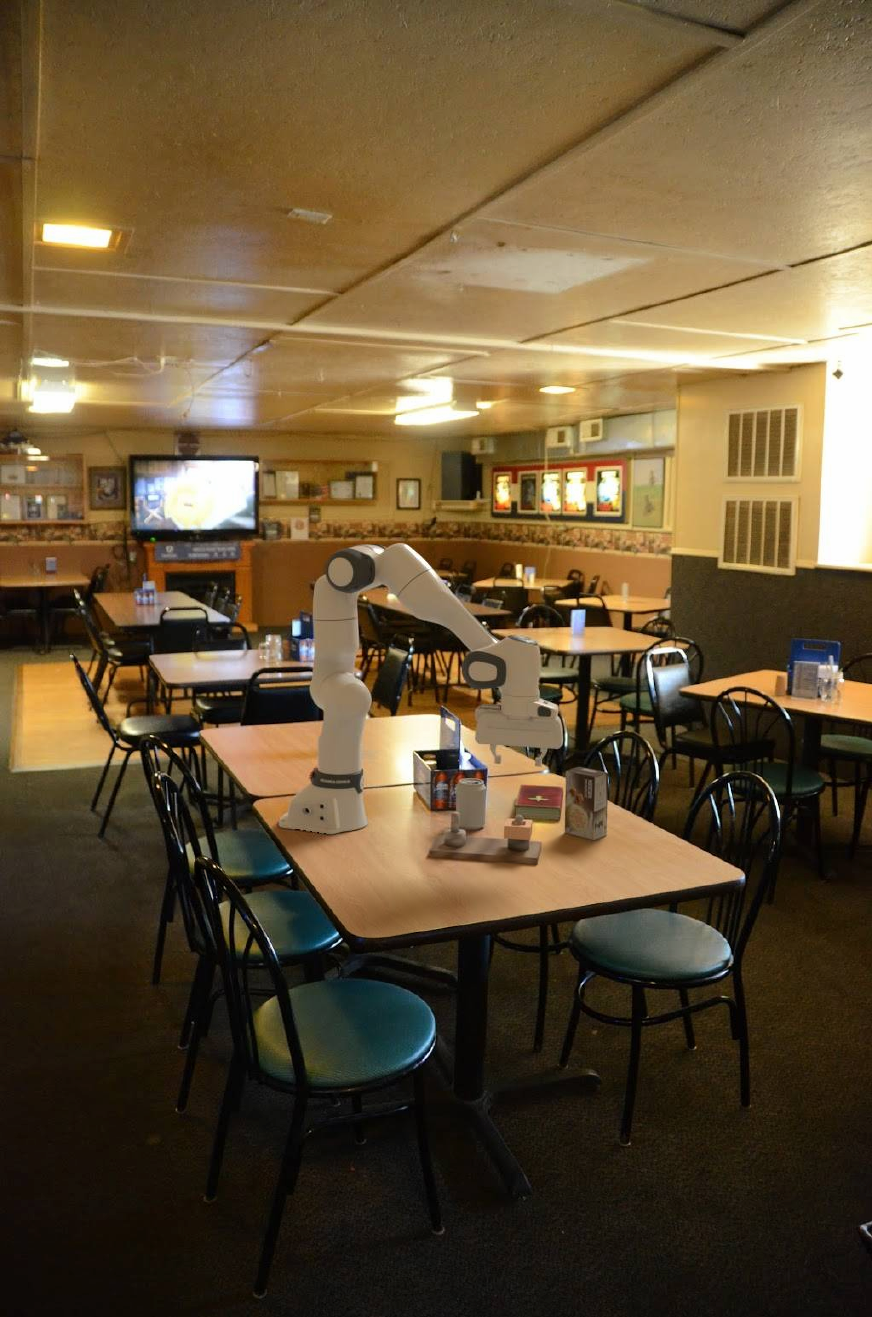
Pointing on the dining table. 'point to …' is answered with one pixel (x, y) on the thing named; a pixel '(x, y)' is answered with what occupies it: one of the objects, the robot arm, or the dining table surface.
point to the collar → (518, 830)
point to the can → (471, 803)
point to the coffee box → (586, 803)
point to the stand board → (484, 846)
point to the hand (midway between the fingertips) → (517, 764)
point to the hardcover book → (539, 801)
